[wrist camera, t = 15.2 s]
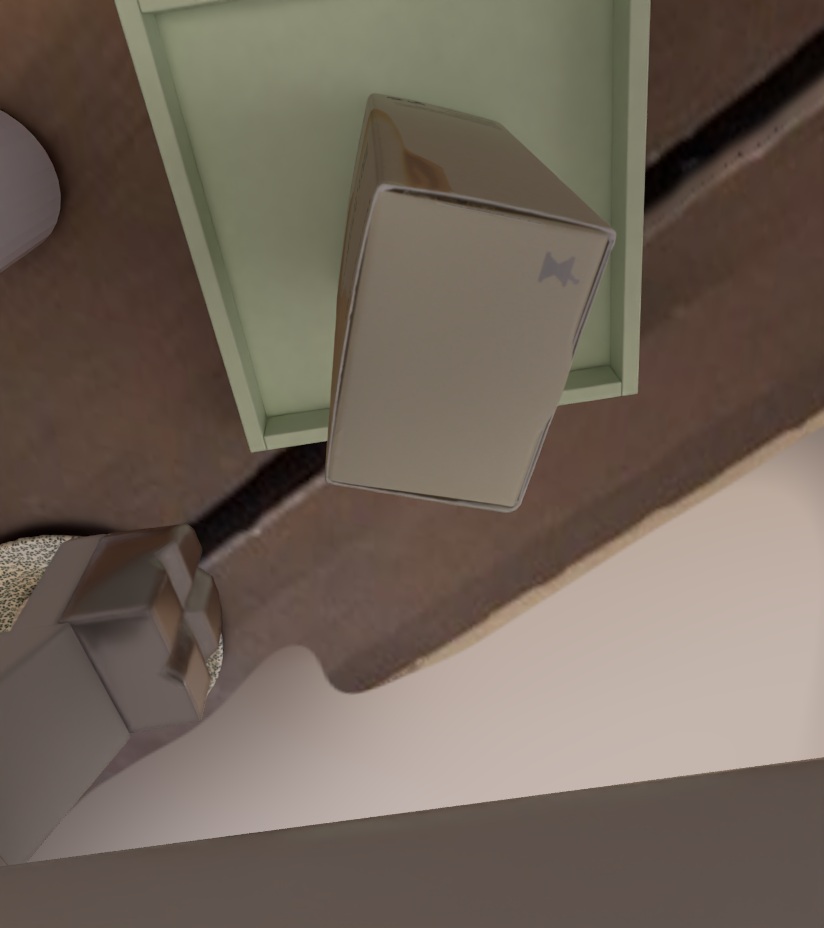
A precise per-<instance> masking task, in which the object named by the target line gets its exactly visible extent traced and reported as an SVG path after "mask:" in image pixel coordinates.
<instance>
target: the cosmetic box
mask: <svg viewBox="0 0 824 928" xmlns="http://www.w3.org/2000/svg"><path fill="white" fill-rule="evenodd" d="M615 239H616V232H615V230H614V229H613V228H612V227H611V226H610V225H609V224H608V223H606V222H605V221H604V220H603V219H602V218H601V217H600V216H599V215H598V214H597V213H595V212H594V211H593V210H592V209H591V208H590V207H589V206H588V205H587V204H586V203H585V202H584V201H583V200H581V199H580V197H579V196H577V195H576V194H575V193H574V192H573V191H572V190H571V189H570V188H569V187H568V186H567V185H566V184H564V183H563V182H562V181H561V180H560V179H559V178H558V177H557V176H556V175H555V174H554V173H553V172H552V171H551V170H550V169H549V168H548V167H547V166H545V165H544V164H543V163H542V162H541V161H540V160H539V159H538V158H537V157H536V156H535V155H534V154H533V153H532V152H531V151H530V150H528V149H527V148H526V147H525V146H524V145H523V144H522V143H521V142H520V141H519V140H518V139H517V138H516V137H515V136H513V135H512V133H510V132H509V131H508V130H507V129H506V128H505V127H504V126H503V125H502V124H500V123H499V122H496V121H492V120H489V119H485V118H482V117H478V116H474V115H471V114H467V113H463V112H459V111H456V110H452V109H448V108H444V107H440V106H435V105H431V104H427V103H422V102H418V101H414V100H409V99H404V98H399V97H393V96H387V95H382V94H376V93H374V94H371V95H370V96H369V97H368V100H367V104H366V109H365V114H364V119H363V125H362V130H361V134H360V139H359V145H358V150H357V155H356V161H355V166H354V172H353V178H352V184H351V190H350V196H349V202H348V208H347V216H346V224H345V232H344V239H343V247H342V256H341V264H340V272H339V278H338V293H337V304H336V326H335V338H334V354H333V368H332V381H331V396H330V411H329V424H328V437H327V451H326V467H325V480H326V482H328V483H329V484H332V485H338V486H345V487H352V488H358V489H364V490H369V491H374V492H379V493H386V494H392V495H397V496H403V497H407V498H415V499H420V500H428V501H435V502H440V503H446V504H452V505H458V506H465V507H472V508H479V509H485V510H492V511H498V512H506V513H509V512H512V511H514V510H516V509H517V508H518V507H519V506H520V505H521V503H522V500H523V497H524V494H525V491H526V489H527V486H528V483H529V481H530V478H531V475H532V473H533V470H534V467H535V465H536V462H537V459H538V456H539V453H540V451H541V448H542V445H543V442H544V440H545V437H546V434H547V431H548V428H549V426H550V423H551V421H552V418H553V416H554V413H555V411H556V408H557V405H558V403H559V400H560V398H561V395H562V392H563V390H564V387H565V384H566V381H567V378H568V374H569V371H570V368H571V365H572V362H573V359H574V355H575V352H576V349H577V346H578V344H579V341H580V338H581V336H582V333H583V330H584V328H585V325H586V322H587V319H588V316H589V313H590V310H591V307H592V304H593V302H594V299H595V296H596V293H597V291H598V288H599V285H600V282H601V279H602V276H603V274H604V271H605V268H606V265H607V262H608V259H609V256H610V253H611V251H612V249H613V246H614V244H615Z"/></svg>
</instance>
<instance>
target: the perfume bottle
mask: <svg viewBox="0 0 824 928" xmlns="http://www.w3.org/2000/svg"><path fill="white" fill-rule="evenodd" d="M60 203H61V193H60V187H59V181H58V178H57V175H56V172H55V169H54V166H53V164H52V162H51V160H50V159H49V157H48V155H47V153H46V151H45V150H44V148H43V147H42V146H41V144H40V143H39V142H38V141H37V139H36V138H35V137H34V135H32V134H31V133H30V132H29V131H28V130H27V129H26V128H25V127H24V126H23V125H22V124H21V123H20V122H18V121H17V120H15V119H14V118H12V117H11V116H9V115H8V114H7V113H5V112H3V111H1V110H0V272H2V271H3V270H5V269H6V268H8V267H9V266H10V265H12V264H13V263H15V262H16V261H17V260H19V259H20V258H22V257H23V256H25V255H26V254H27V253H29V252H30V251H32V250H33V249H34V248H36V247H37V246H39V245H40V244H42V243H43V242H44V241H45V239H46V238H47V237H48V236H49V235H50V234H51V232H52V231H53V229H54V227H55V225H56V223H57V220H58V216H59V212H60Z"/></svg>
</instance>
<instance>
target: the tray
mask: <svg viewBox="0 0 824 928" xmlns="http://www.w3.org/2000/svg"><path fill="white" fill-rule="evenodd" d="M114 2H115V5H116V8H117V12H118V15H119V18H120V21H121V25H122V28H123V31H124V35H125V38H126V41H127V45H128V48H129V51H130V55H131V58H132V61H133V64H134V68H135V71H136V74H137V78H138V81H139V84H140V88H141V91H142V94H143V98H144V101H145V104H146V107H147V111H148V114H149V117H150V121H151V124H152V127H153V131H154V134H155V137H156V140H157V144H158V147H159V150H160V154H161V157H162V160H163V164H164V167H165V170H166V174H167V177H168V180H169V183H170V187H171V190H172V193H173V197H174V200H175V203H176V207H177V210H178V213H179V217H180V220H181V223H182V226H183V230H184V233H185V236H186V240H187V243H188V246H189V250H190V253H191V256H192V260H193V263H194V266H195V269H196V273H197V276H198V279H199V283H200V286H201V289H202V293H203V296H204V299H205V303H206V306H207V309H208V312H209V316H210V319H211V322H212V326H213V329H214V332H215V336H216V339H217V342H218V345H219V349H220V352H221V355H222V359H223V362H224V365H225V369H226V372H227V375H228V379H229V382H230V385H231V388H232V392H233V395H234V398H235V402H236V405H237V408H238V412H239V415H240V418H241V422H242V425H243V428H244V431H245V435H246V438H247V441H248V445H249V448H250V451H251V452H257V451H264V450H266V449H268V450H270V449H276V448H283V447H290V446H296V445H303V444H309V443H316V442H322V441H327V437H328V424H329V411H330V396H331V381H332V368H333V354H334V338H335V326H336V304H337V293H338V278H339V272H340V264H341V256H342V247H343V239H344V232H345V224H346V216H347V208H348V202H349V196H350V190H351V184H352V178H353V172H354V166H355V161H356V155H357V150H358V145H359V139H360V134H361V130H362V125H363V119H364V114H365V109H366V104H367V100H368V97H369V96H370V95H371V94H374V93H376V94H382V95H387V96H393V97H399V98H404V99H409V100H414V101H418V102H422V103H427V104H431V105H435V106H440V107H444V108H448V109H452V110H456V111H459V112H463V113H467V114H471V115H474V116H478V117H482V118H485V119H489V120H492V121H496V122H499V123H500V124H502V125H503V126H504V127H505V128H506V129H507V130H508V131H509V132H510V133H512V135H513V136H515V137H516V138H517V139H518V140H519V141H520V142H521V143H522V144H523V145H524V146H525V147H526V148H527V149H528V150H530V151H531V152H532V153H533V154H534V155H535V156H536V157H537V158H538V159H539V160H540V161H541V162H542V163H543V164H544V165H545V166H547V167H548V168H549V169H550V170H551V171H552V172H553V173H554V174H555V175H556V176H557V177H558V178H559V179H560V180H561V181H562V182H563V183H564V184H566V185H567V186H568V187H569V188H570V189H571V190H572V191H573V192H574V193H575V194H576V195H577V196H579V197H580V199H581V200H583V201H584V202H585V203H586V204H587V205H588V206H589V207H590V208H591V209H592V210H593V211H594V212H595V213H597V214H598V215H599V216H600V217H601V218H602V219H603V220H604V221H605V222H606V223H608V224H609V225H610V226H611V227H612V228H613V229H614V230H615V232H616V239H615V244H614V246H613V249H612V251H611V253H610V256H609V259H608V262H607V265H606V268H605V271H604V274H603V276H602V279H601V282H600V285H599V288H598V291H597V293H596V296H595V299H594V302H593V304H592V307H591V310H590V313H589V316H588V319H587V322H586V325H585V328H584V330H583V333H582V336H581V338H580V341H579V344H578V346H577V349H576V352H575V355H574V359H573V362H572V365H571V368H570V371H569V374H568V378H567V381H566V384H565V387H564V390H563V392H562V395H561V398H560V400H559V403H558V405H557V406H559V405H565V404H572V403H578V402H585V401H592V400H598V399H605V398H611V397H618V396H621V395H622V396H625V395H631V394H637V393H638V371H639V340H640V309H641V279H642V248H643V217H644V187H645V156H646V125H647V95H648V64H649V33H650V3H651V0H114Z"/></svg>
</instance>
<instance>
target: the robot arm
mask: <svg viewBox="0 0 824 928" xmlns="http://www.w3.org/2000/svg"><path fill="white" fill-rule="evenodd" d="M201 552H202V548H201V546H200V543H199V541H198V538H197V536H196V534H195V531H194V529H193V528H191V527H190V526H188V525H187V524H180V525H172V526H164V527H156V528H148V529H140V530H132V531H124V532H116V533H109V534H100V535H93V536H86V537H80V538H73V539H70V540H67V541H65V542H63V543H61V545H60V546H59V548H58V550H57V551H56V553H55V555H54V556H53V558H52V560H51V562H50V563H49V565H48V567H47V568H46V570H45V572H44V574H43V575H42V577H41V579H40V580H39V582H38V584H37V586H36V587H35V589H34V591H33V592H32V594H31V596H30V598H29V599H28V601H27V603H26V604H25V606H24V608H23V610H22V611H21V613H20V615H19V616H18V618H17V620H16V622H15V623H14V625H13V627H12V628H11V630H10V631H6V632H0V928H824V758H816V759H809V760H801V761H793V762H785V763H778V764H770V765H763V766H755V767H749V768H740V769H733V770H725V771H718V772H710V773H702V774H695V775H687V776H680V777H673V778H664V779H657V780H649V781H642V782H634V783H627V784H619V785H612V786H604V787H596V788H589V789H581V790H574V791H566V792H559V793H551V794H544V795H536V796H529V797H521V798H514V799H506V800H498V801H491V802H483V803H477V804H469V805H461V806H453V807H445V808H438V809H430V810H423V811H416V812H408V813H400V814H392V815H386V816H378V817H370V818H362V819H355V820H347V821H340V822H333V823H324V824H317V825H309V826H302V827H294V828H287V829H279V830H272V831H265V832H257V833H249V834H241V835H234V836H226V837H219V838H212V839H204V840H197V841H189V842H181V843H173V844H166V845H158V846H151V847H144V848H136V849H129V850H121V851H113V852H105V853H98V854H91V855H83V856H76V857H68V858H60V859H54V860H45V861H38V862H30V863H27V861H28V860H29V859H30V858H31V857H32V855H33V854H34V853H35V852H36V851H37V849H38V848H39V847H40V846H41V845H42V843H43V842H44V841H45V840H46V839H47V837H48V836H49V835H50V834H51V832H52V831H53V830H54V829H55V827H56V826H57V825H58V824H59V823H60V822H61V820H62V819H63V818H64V817H65V816H66V814H67V813H68V812H69V811H70V810H71V808H72V807H73V806H74V805H75V804H76V802H77V801H78V800H79V799H80V798H81V796H82V795H83V794H84V793H85V792H86V790H87V789H88V788H89V787H90V786H91V784H92V783H93V782H94V781H95V780H96V778H97V777H98V776H99V775H100V774H101V772H102V771H103V770H104V769H105V768H106V766H107V765H108V764H109V763H110V762H111V760H112V759H113V758H114V757H115V756H116V754H117V753H118V752H119V751H120V750H121V748H122V747H123V746H124V745H125V744H126V742H127V741H128V740H129V739H130V738H131V735H130V733H133V732H139V731H145V730H151V729H158V728H164V727H170V726H176V725H182V724H188V723H194V722H200V721H201V718H202V714H203V709H204V705H205V701H206V697H207V693H208V689H209V685H210V680H211V675H210V672H209V670H208V668H207V665H206V663H205V661H206V660H207V659H208V658H209V657H210V656H211V655H212V654H213V653H214V652H215V651H216V650H217V649H218V646H219V641H220V637H221V632H222V609H221V604H220V599H219V594H218V590H217V587H216V585H215V582H214V579H213V577H212V576H211V575H209V574H208V573H207V572H205V571H204V570H202V569H201V568H199V567H198V563H199V559H200V556H201Z"/></svg>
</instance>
